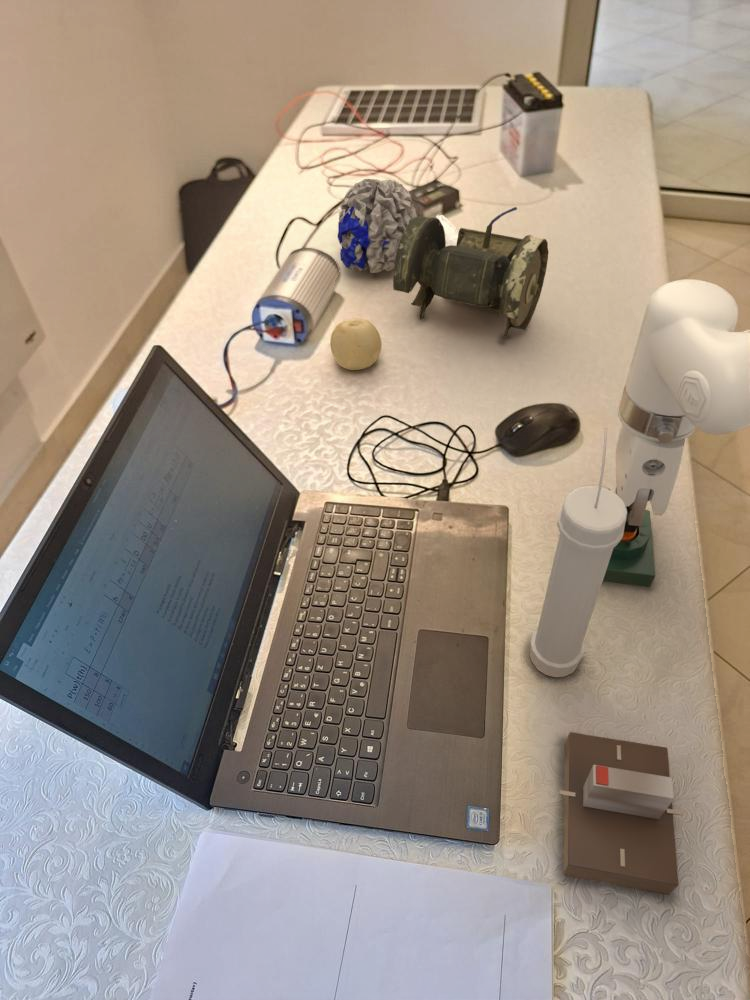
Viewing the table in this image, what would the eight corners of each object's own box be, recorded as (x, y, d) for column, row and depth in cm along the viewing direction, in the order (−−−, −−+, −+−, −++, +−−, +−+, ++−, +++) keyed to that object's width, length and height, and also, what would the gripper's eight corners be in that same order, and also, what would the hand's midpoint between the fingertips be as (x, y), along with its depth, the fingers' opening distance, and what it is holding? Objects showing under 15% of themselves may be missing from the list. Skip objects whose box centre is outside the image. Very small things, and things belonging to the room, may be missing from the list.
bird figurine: (422, 251, 139) (444, 263, 131) (426, 213, 136) (448, 223, 128) (446, 250, 141) (469, 262, 133) (449, 213, 137) (473, 223, 129)
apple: (346, 383, 110) (323, 338, 107) (342, 371, 118) (320, 329, 115) (392, 359, 110) (370, 313, 107) (385, 349, 117) (364, 306, 114)
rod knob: (657, 799, 65) (673, 776, 61) (659, 819, 64) (675, 797, 60) (583, 786, 66) (593, 763, 62) (583, 806, 65) (593, 784, 61)
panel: (679, 897, 62) (690, 887, 60) (552, 873, 64) (557, 862, 61) (668, 761, 70) (677, 748, 68) (555, 743, 72) (560, 729, 69)
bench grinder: (509, 358, 108) (550, 217, 100) (377, 317, 115) (405, 182, 106) (538, 341, 125) (575, 220, 117) (422, 307, 132) (449, 190, 124)
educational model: (339, 296, 138) (321, 248, 124) (356, 207, 143) (340, 151, 129) (411, 300, 135) (402, 250, 121) (425, 209, 140) (417, 152, 126)
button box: (650, 587, 84) (659, 566, 81) (579, 578, 85) (585, 557, 82) (645, 522, 90) (653, 500, 87) (579, 514, 91) (585, 493, 89)
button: (634, 550, 84) (637, 540, 83) (602, 546, 85) (605, 536, 84) (633, 526, 87) (636, 517, 85) (602, 523, 87) (604, 513, 86)
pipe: (527, 677, 77) (574, 480, 54) (527, 626, 81) (570, 424, 59) (581, 682, 76) (650, 485, 54) (578, 631, 80) (641, 429, 58)
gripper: (709, 463, 65) (658, 582, 79) (693, 362, 75) (649, 483, 89) (623, 454, 67) (587, 573, 80) (618, 356, 76) (587, 477, 90)
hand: (620, 525), depth 85 cm, fingers closed
